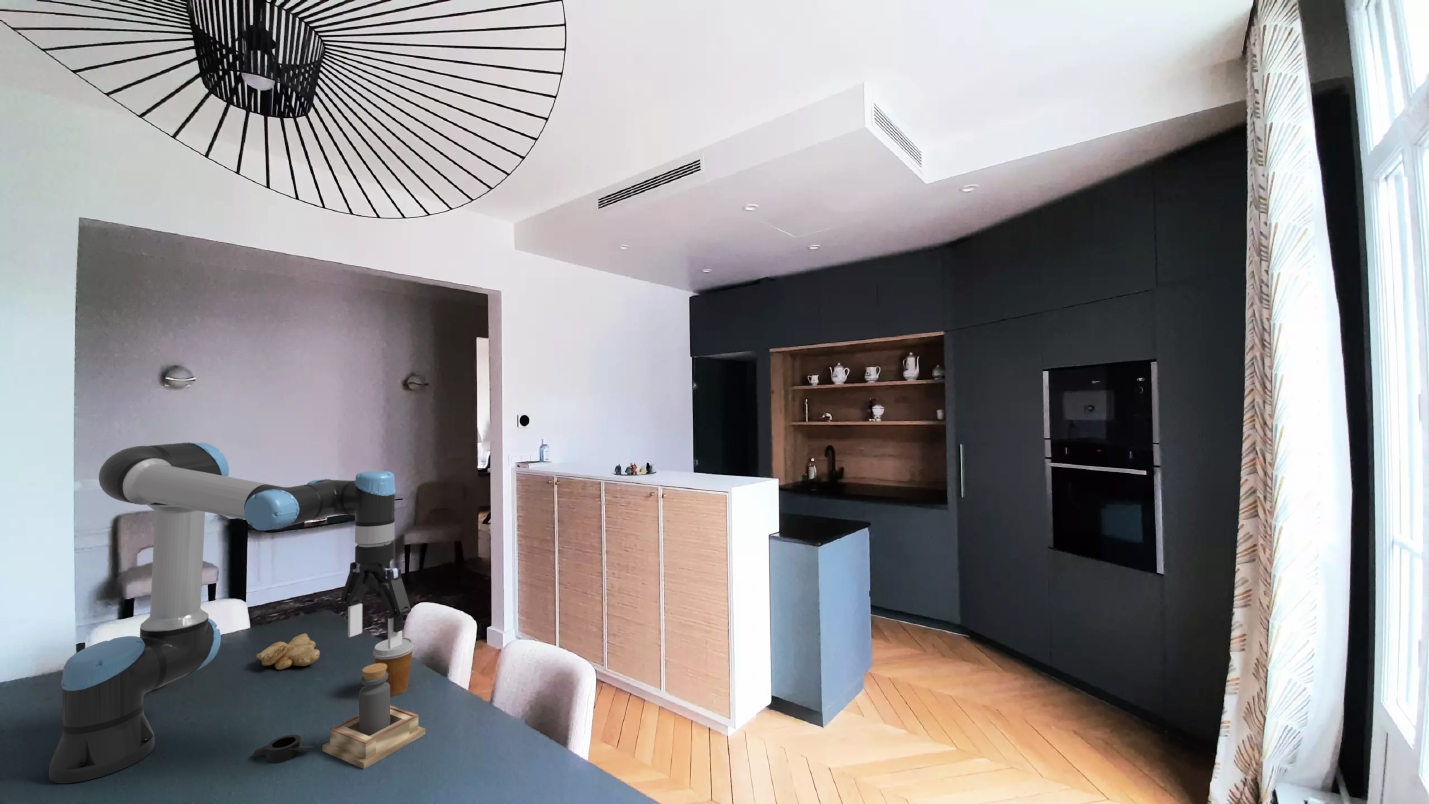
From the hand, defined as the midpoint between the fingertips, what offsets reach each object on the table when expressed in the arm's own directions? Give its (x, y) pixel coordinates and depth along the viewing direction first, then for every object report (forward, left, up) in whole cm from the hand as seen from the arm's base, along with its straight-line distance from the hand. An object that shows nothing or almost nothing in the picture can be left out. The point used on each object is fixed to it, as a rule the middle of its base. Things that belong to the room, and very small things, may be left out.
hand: (374, 640), depth 128 cm
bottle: (0, 0, -21) cm, 21 cm away
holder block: (0, 0, -22) cm, 22 cm away
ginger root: (-59, +14, -23) cm, 65 cm away
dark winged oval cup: (-13, -11, -23) cm, 28 cm away
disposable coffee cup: (-18, +17, -22) cm, 33 cm away
